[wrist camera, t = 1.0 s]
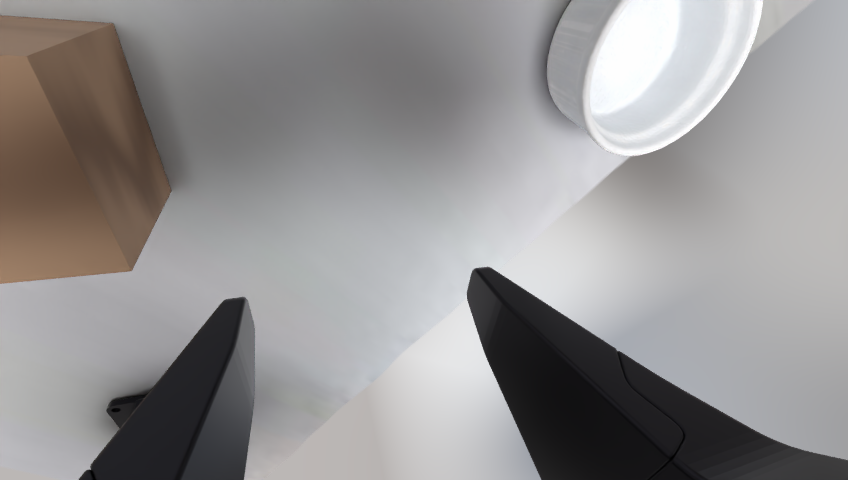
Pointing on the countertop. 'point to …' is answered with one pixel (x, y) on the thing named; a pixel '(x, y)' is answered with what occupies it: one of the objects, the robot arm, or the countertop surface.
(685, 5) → the ramekin
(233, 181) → the countertop surface
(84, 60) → the walnut block
